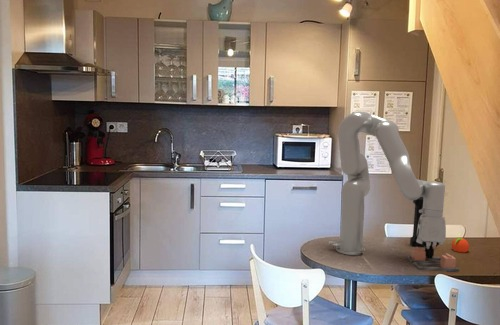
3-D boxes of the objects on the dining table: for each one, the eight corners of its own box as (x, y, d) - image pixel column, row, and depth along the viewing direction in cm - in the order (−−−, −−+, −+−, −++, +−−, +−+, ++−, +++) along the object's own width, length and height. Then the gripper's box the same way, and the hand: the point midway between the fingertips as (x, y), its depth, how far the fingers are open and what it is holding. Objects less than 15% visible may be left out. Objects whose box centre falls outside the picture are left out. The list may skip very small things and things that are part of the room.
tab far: (414, 262, 179) (415, 249, 179) (411, 259, 183) (412, 246, 183) (424, 262, 179) (425, 249, 179) (421, 259, 183) (422, 246, 183)
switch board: (408, 274, 169) (409, 268, 169) (394, 259, 186) (394, 254, 186) (472, 276, 169) (473, 270, 169) (452, 261, 186) (452, 256, 186)
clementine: (461, 257, 192) (463, 241, 192) (446, 252, 198) (447, 237, 197) (471, 254, 197) (472, 238, 196) (456, 250, 203) (457, 234, 202)
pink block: (444, 269, 172) (445, 256, 171) (440, 266, 176) (441, 253, 175) (455, 270, 172) (456, 256, 171) (450, 266, 176) (451, 253, 175)
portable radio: (426, 250, 201) (431, 194, 198) (412, 248, 202) (416, 193, 199) (423, 245, 209) (427, 191, 206) (409, 244, 210) (413, 191, 207)
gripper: (417, 214, 175) (413, 260, 177) (455, 215, 175) (451, 261, 177) (410, 210, 183) (407, 254, 185) (447, 211, 183) (443, 255, 185)
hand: (428, 257), depth 181 cm, fingers closed
